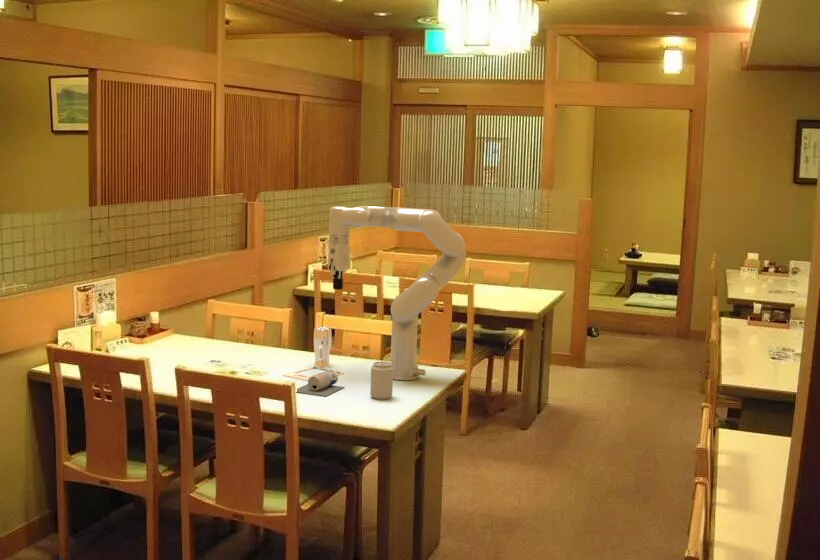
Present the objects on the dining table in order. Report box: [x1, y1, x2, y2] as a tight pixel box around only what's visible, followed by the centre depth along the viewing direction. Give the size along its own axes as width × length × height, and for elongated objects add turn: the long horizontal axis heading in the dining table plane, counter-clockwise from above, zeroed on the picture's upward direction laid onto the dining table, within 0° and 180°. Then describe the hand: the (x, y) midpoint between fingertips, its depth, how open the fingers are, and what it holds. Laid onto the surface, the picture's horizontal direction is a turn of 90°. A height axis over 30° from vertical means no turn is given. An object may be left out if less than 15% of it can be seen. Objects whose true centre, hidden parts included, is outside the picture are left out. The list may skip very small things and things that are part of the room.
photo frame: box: [282, 366, 345, 382], centre depth 339 cm, size 15×1×18 cm
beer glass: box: [313, 326, 333, 369], centre depth 352 cm, size 7×7×15 cm
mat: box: [296, 383, 345, 398], centre depth 317 cm, size 13×14×1 cm
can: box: [369, 360, 394, 401], centre depth 309 cm, size 8×8×12 cm
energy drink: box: [307, 369, 339, 391], centre depth 318 cm, size 5×5×12 cm
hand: (337, 288), depth 338 cm, fingers closed
